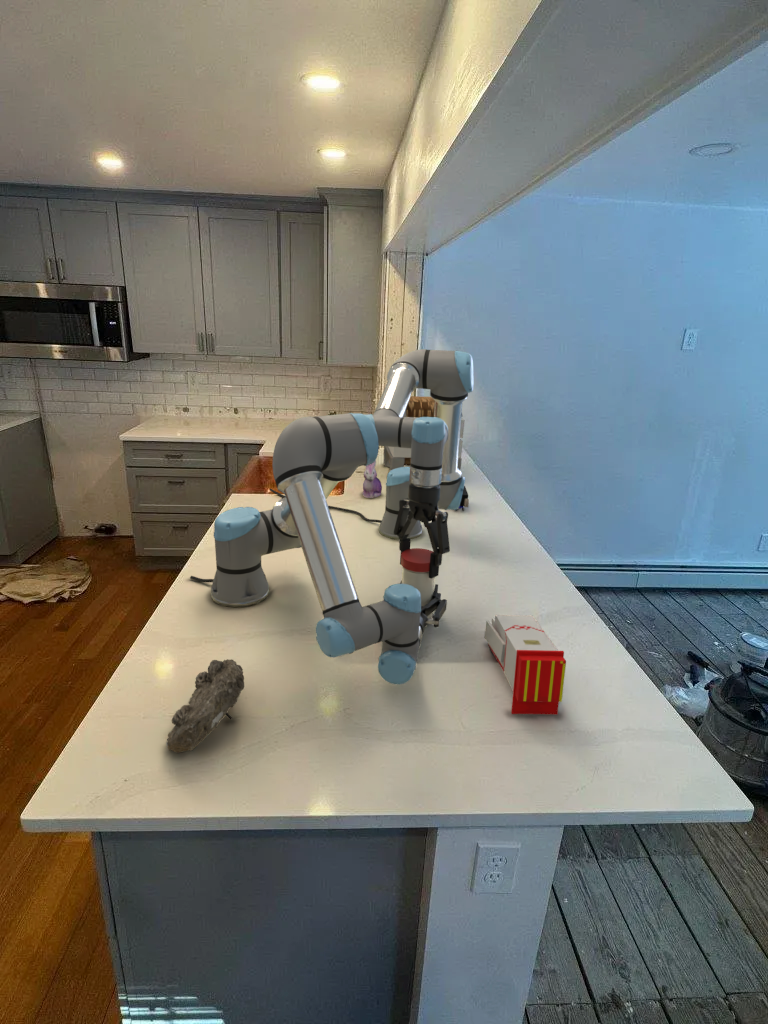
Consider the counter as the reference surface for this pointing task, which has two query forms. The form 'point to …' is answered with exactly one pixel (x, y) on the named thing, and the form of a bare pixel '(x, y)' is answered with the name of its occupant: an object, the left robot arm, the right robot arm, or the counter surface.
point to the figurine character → (464, 499)
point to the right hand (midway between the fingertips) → (418, 569)
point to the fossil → (206, 705)
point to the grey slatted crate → (415, 409)
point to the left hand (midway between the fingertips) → (419, 586)
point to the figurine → (371, 482)
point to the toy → (527, 663)
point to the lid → (416, 559)
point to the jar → (420, 584)
